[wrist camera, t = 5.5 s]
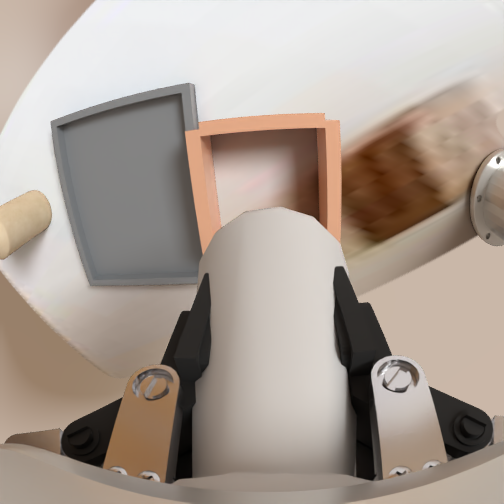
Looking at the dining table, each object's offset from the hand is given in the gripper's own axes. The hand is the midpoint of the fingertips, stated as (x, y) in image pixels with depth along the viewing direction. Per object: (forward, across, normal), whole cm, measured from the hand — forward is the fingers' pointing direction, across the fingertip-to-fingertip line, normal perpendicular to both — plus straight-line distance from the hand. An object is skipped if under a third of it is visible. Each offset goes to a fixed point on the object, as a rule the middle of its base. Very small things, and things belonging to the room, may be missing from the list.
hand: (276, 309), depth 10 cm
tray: (+20, +14, 0) cm, 25 cm away
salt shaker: (+4, 0, 0) cm, 4 cm away
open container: (+21, 0, 0) cm, 21 cm away
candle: (+20, +30, 0) cm, 36 cm away
